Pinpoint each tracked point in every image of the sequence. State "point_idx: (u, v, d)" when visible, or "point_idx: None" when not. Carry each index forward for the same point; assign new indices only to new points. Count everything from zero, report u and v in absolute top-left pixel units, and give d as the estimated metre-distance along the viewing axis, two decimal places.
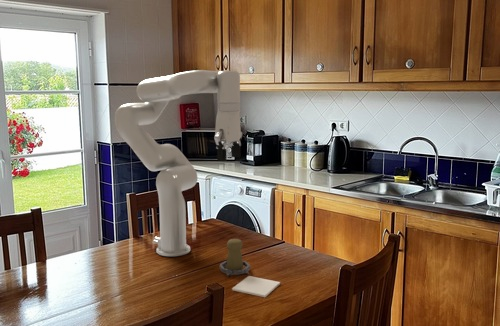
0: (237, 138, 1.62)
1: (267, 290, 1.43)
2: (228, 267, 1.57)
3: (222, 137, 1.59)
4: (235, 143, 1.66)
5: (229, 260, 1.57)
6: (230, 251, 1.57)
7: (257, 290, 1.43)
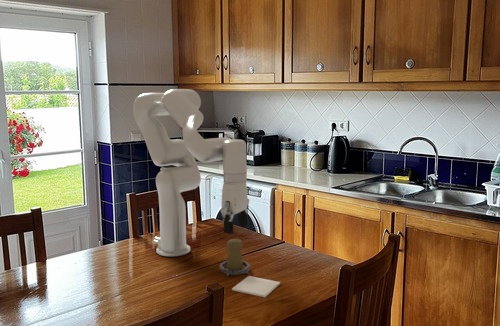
0: (244, 207, 1.57)
1: (267, 290, 1.43)
2: (228, 267, 1.57)
3: (229, 208, 1.53)
4: (242, 211, 1.60)
5: (229, 260, 1.57)
6: (230, 251, 1.57)
7: (257, 290, 1.43)
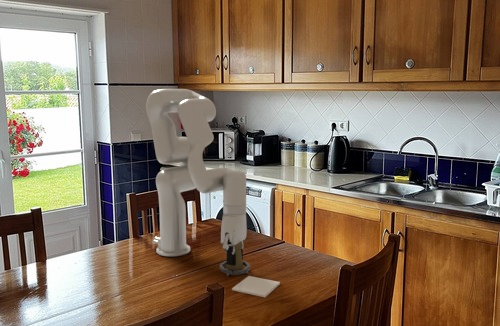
0: (243, 238, 1.58)
1: (267, 290, 1.43)
2: (228, 267, 1.57)
3: None
4: None
5: None
6: None
7: (257, 290, 1.43)
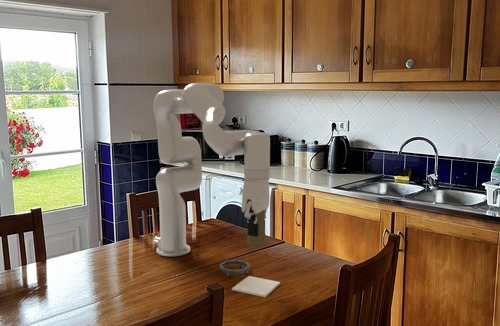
0: (266, 207, 1.44)
1: (267, 290, 1.43)
2: (249, 238, 1.43)
3: None
4: None
5: None
6: None
7: (257, 290, 1.43)
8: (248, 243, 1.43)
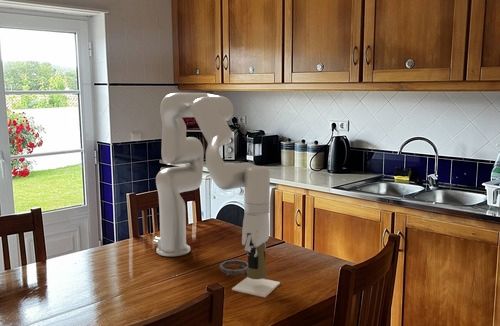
0: (266, 239, 1.46)
1: (267, 290, 1.43)
2: (250, 271, 1.44)
3: None
4: None
5: None
6: None
7: (257, 290, 1.43)
8: (248, 275, 1.45)
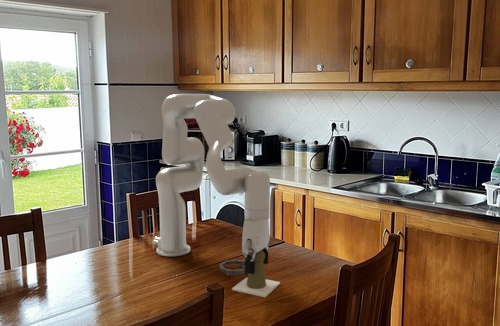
0: (266, 244, 1.46)
1: (267, 290, 1.43)
2: (249, 280, 1.45)
3: (250, 246, 1.42)
4: (262, 248, 1.49)
5: None
6: None
7: (257, 290, 1.43)
8: (248, 285, 1.45)
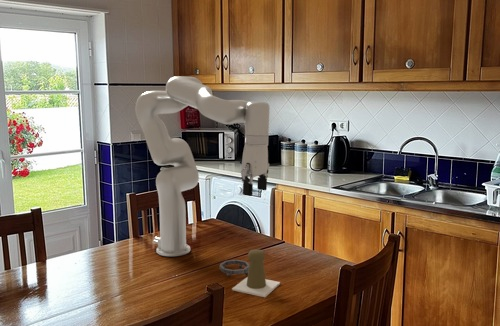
0: (264, 171, 1.56)
1: (267, 290, 1.43)
2: (249, 280, 1.45)
3: (249, 170, 1.52)
4: (262, 175, 1.60)
5: (250, 272, 1.45)
6: (252, 263, 1.44)
7: (257, 290, 1.43)
8: (248, 285, 1.45)
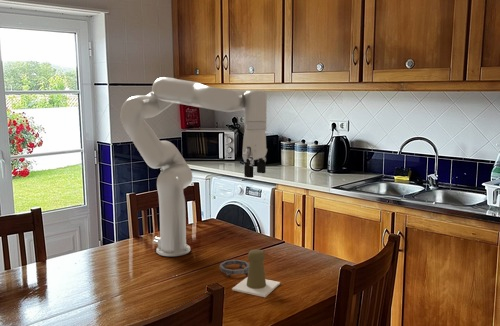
0: (263, 155, 1.68)
1: (267, 290, 1.43)
2: (249, 280, 1.45)
3: (249, 154, 1.64)
4: (260, 159, 1.71)
5: (250, 272, 1.45)
6: (252, 263, 1.44)
7: (257, 290, 1.43)
8: (248, 285, 1.45)
